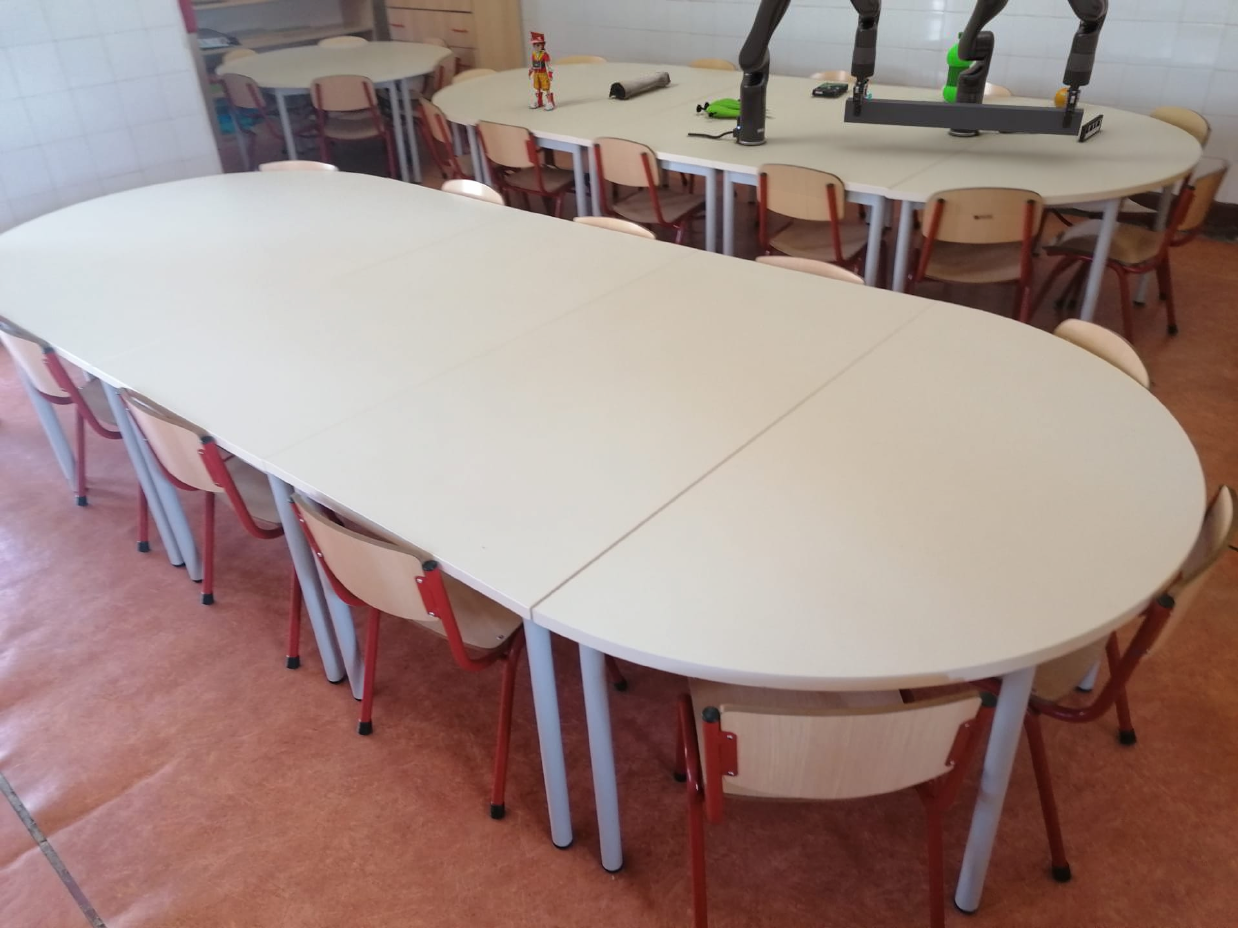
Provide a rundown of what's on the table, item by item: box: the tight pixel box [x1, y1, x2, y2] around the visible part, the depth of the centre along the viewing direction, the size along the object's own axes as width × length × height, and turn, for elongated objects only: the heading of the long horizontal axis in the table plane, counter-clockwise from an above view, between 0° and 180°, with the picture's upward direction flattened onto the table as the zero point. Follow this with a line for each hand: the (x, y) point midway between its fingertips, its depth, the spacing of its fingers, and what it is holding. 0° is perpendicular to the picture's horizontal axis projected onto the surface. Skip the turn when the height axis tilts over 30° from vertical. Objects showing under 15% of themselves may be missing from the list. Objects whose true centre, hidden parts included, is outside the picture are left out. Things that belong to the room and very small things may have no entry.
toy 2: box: [696, 97, 771, 118], centre depth 355 cm, size 28×5×30 cm
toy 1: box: [527, 31, 556, 111], centre depth 374 cm, size 12×9×30 cm
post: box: [843, 96, 1085, 137], centre depth 294 cm, size 73×4×7 cm, turn 67°
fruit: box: [1053, 87, 1080, 108], centre depth 337 cm, size 8×8×8 cm
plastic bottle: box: [942, 31, 974, 103], centre depth 348 cm, size 10×10×25 cm
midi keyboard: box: [1078, 113, 1104, 142], centre depth 307 cm, size 18×1×5 cm, turn 138°
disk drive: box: [811, 82, 849, 99], centre depth 376 cm, size 10×3×15 cm
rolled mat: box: [608, 71, 672, 101], centre depth 395 cm, size 30×9×10 cm
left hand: (858, 114), depth 306 cm, fingers closed on post, 4 cm apart
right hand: (1066, 125), depth 283 cm, fingers closed on post, 4 cm apart
